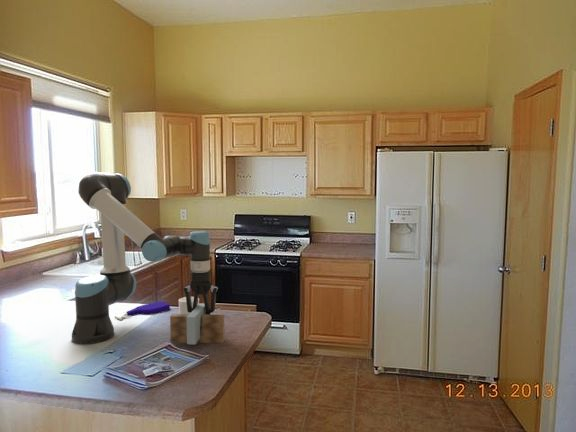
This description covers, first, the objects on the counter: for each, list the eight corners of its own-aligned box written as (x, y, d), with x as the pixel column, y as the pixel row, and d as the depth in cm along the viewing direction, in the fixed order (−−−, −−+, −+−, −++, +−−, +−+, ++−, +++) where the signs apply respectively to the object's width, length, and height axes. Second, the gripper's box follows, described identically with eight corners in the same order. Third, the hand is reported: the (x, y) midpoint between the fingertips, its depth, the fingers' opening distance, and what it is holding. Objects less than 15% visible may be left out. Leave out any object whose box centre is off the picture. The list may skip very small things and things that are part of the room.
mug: (188, 330, 172) (188, 304, 171) (175, 323, 181) (175, 298, 180) (207, 326, 177) (206, 301, 176) (193, 319, 186) (193, 295, 186)
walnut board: (170, 342, 159) (170, 316, 158) (173, 339, 162) (172, 313, 161) (222, 343, 158) (222, 317, 157) (224, 340, 161) (224, 314, 160)
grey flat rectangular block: (187, 344, 150) (186, 317, 150) (200, 327, 168) (199, 303, 168) (195, 344, 150) (194, 317, 150) (207, 327, 168) (207, 303, 168)
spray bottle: (160, 300, 208) (111, 311, 190) (171, 304, 200) (121, 316, 183) (160, 306, 208) (111, 317, 190) (172, 310, 200) (121, 323, 183)
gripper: (177, 272, 160) (178, 332, 162) (218, 272, 159) (219, 333, 161) (183, 268, 167) (184, 326, 169) (222, 269, 167) (223, 326, 168)
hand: (201, 329), depth 165 cm, fingers closed on grey flat rectangular block, 3 cm apart
